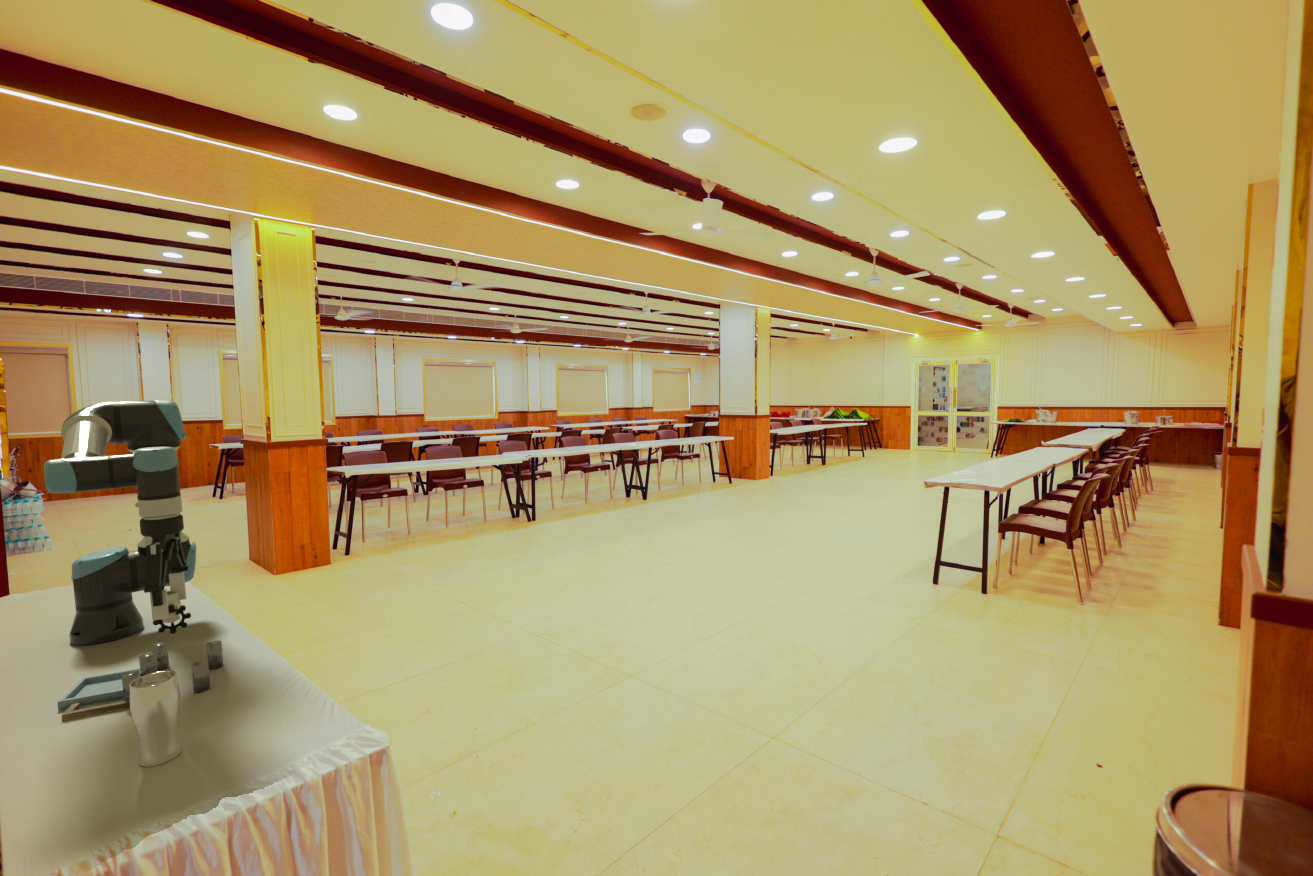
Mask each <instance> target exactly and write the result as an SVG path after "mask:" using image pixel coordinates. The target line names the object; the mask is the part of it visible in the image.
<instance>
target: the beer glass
mask: <svg viewBox="0 0 1313 876" xmlns="http://www.w3.org/2000/svg"><path fill="white" fill-rule="evenodd" d="M177 677H178V676H177V673H176V671H174V670H162V671H158V672H154V673H150V674H147V675H144V676H141V677H139V678H137V679H135V680H134V681H132V682H131V683H130V685H129V687H130V695H129V698H130V708H129V710H130V716H131V719H132V720H131V721H132V724H133V726H134V728H135V732H136V733H137V736H138V737H137V738H138V739H139V745H140V750H139V758H138V759H139V761H138V765H140V767H143V768H150V767H157V766H160V765H162V764H165V763H166V764H167V763H168V762H170V761H172V760H174V759H175V758H177V757H178V756H179V755H180V754H181V753H182V749H183V748H182V744H181V742H180V739H179V736H178V735H179V734H178V725H179V724H178V723H179V716H180V705H181V697H180V696H181V695H180V687H179V683H178V678H177Z"/></svg>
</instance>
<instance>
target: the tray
mask: <svg viewBox="0 0 1313 876" xmlns="http://www.w3.org/2000/svg"><path fill="white" fill-rule="evenodd" d="M131 671H140V667H139V668H132V669H127V670H121V671H115V672H109V673H104V674H97V675H96V674H95V675H90V676H84V677H82V678H81V679H79V680H78V682H77V683H75V684H74V685H73V687H71V688H70V689H69V690H68V691H67V692H66V693H65V694H64V695H63V696H62V697H61V698H60V699H59V700H58V701H57V710H58V711H61V710H65V709H66V710H67V709H68V708H69V707H70V706H71V705H72V704H76V703H80V707H81V706H82V707H83V706H86V705H93V704H98V703H104V702H110V701H115V700H121V699H124V694H123V685H122V675H123V674H125V673H128V672H131ZM140 677H141V671H140Z"/></svg>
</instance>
